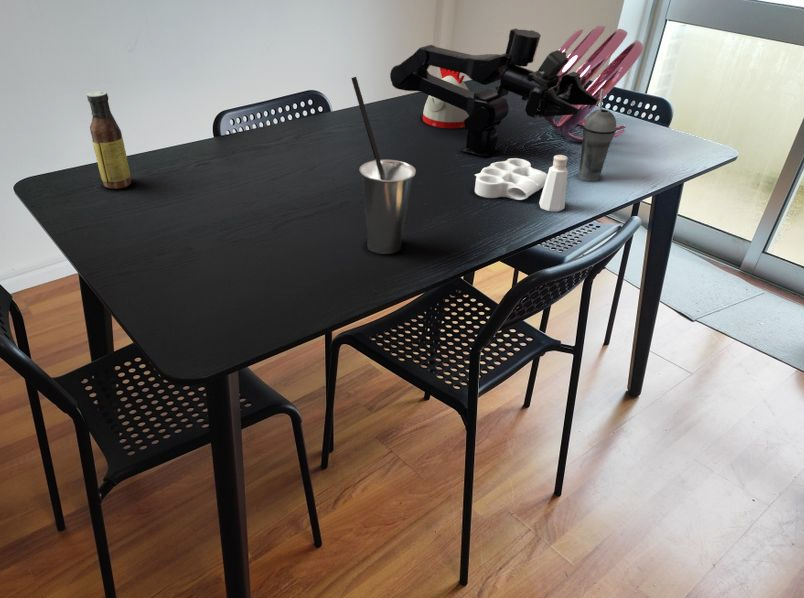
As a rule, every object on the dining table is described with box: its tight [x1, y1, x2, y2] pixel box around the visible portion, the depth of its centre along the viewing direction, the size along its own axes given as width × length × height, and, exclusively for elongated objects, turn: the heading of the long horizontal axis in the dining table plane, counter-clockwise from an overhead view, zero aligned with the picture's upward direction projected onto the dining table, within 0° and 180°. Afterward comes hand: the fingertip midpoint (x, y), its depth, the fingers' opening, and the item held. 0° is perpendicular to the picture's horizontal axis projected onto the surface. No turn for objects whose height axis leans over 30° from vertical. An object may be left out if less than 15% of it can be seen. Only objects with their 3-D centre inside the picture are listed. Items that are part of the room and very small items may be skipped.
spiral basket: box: [543, 24, 645, 143], centre depth 181 cm, size 28×28×27 cm
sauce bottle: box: [86, 90, 132, 190], centre depth 151 cm, size 7×6×20 cm
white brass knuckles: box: [474, 157, 548, 201], centre depth 159 cm, size 3×18×15 cm
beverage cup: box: [578, 89, 617, 182], centre depth 159 cm, size 7×7×20 cm
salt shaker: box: [538, 154, 569, 213], centre depth 148 cm, size 5×5×11 cm
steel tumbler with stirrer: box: [350, 76, 417, 255], centre depth 127 cm, size 11×11×30 cm
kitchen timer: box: [422, 68, 469, 129], centre depth 193 cm, size 14×14×15 cm
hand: (587, 107), depth 155 cm, fingers open, 9 cm apart
